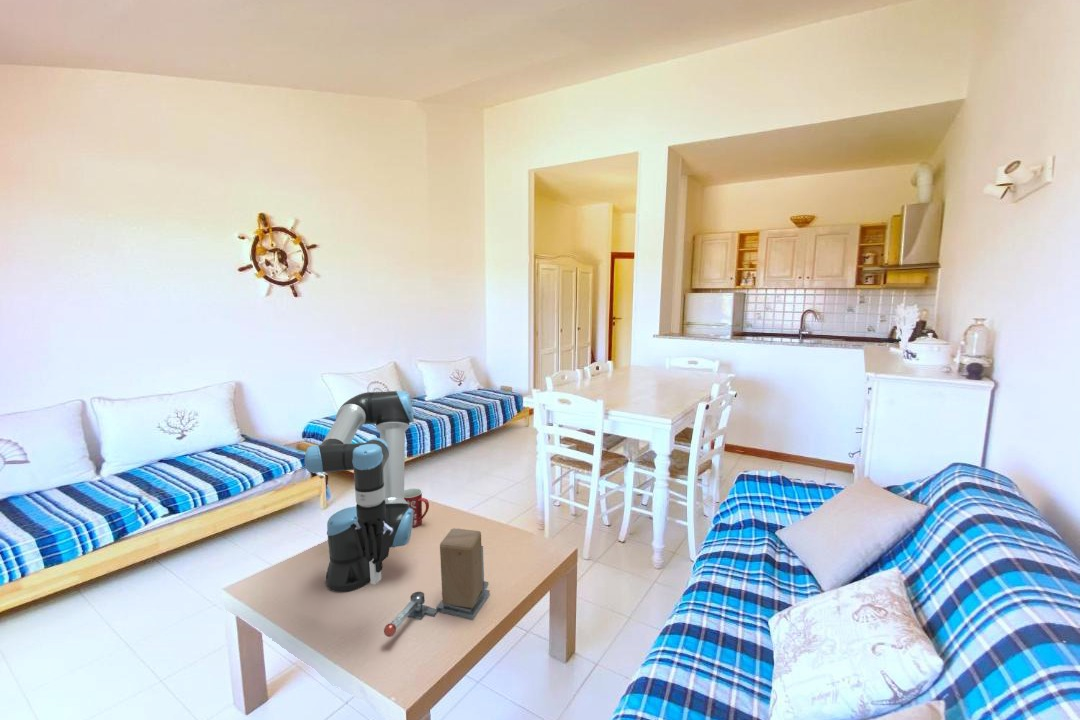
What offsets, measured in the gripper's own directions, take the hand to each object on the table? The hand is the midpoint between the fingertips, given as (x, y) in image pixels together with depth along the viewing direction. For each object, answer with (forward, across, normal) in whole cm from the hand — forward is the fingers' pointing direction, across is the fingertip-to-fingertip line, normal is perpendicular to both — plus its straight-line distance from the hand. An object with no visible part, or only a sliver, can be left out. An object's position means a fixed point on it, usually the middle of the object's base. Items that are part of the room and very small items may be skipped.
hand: (376, 581), depth 134 cm
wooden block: (+13, +18, +18) cm, 28 cm away
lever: (+12, +7, +3) cm, 14 cm away
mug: (+15, -23, +56) cm, 62 cm away
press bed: (+15, +14, +17) cm, 27 cm away
